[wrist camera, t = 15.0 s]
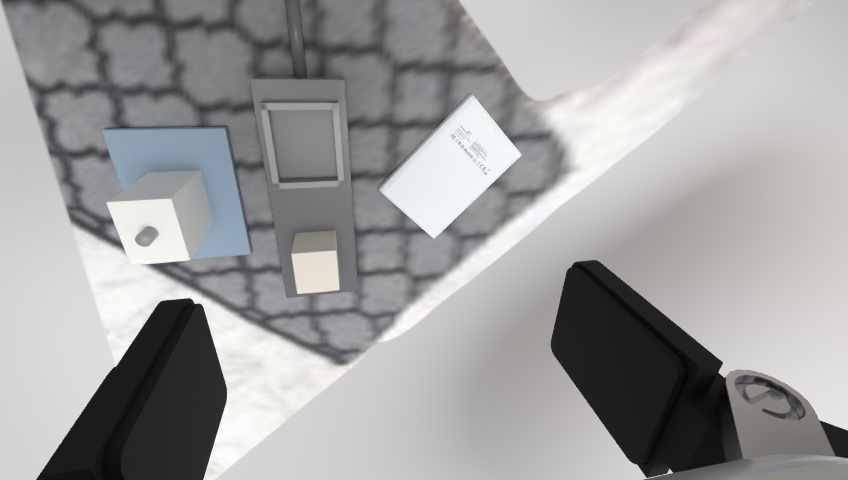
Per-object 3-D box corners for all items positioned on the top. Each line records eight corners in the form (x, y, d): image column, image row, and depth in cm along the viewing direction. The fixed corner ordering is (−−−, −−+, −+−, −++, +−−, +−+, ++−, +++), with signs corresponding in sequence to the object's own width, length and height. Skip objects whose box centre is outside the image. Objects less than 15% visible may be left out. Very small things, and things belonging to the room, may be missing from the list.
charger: (149, 172, 32) (96, 208, 25) (200, 169, 33) (164, 204, 26) (166, 226, 34) (123, 273, 27) (214, 222, 35) (184, 268, 28)
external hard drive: (377, 185, 38) (468, 92, 36) (431, 233, 42) (516, 152, 40) (378, 190, 37) (473, 94, 35) (434, 240, 41) (523, 156, 38)
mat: (106, 128, 31) (101, 130, 30) (227, 126, 33) (224, 128, 32) (151, 258, 36) (147, 262, 35) (252, 250, 38) (251, 254, 37)
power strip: (241, -20, 28) (216, -37, 22) (337, -14, 30) (338, -29, 24) (289, 281, 40) (281, 323, 34) (356, 275, 42) (360, 314, 36)
